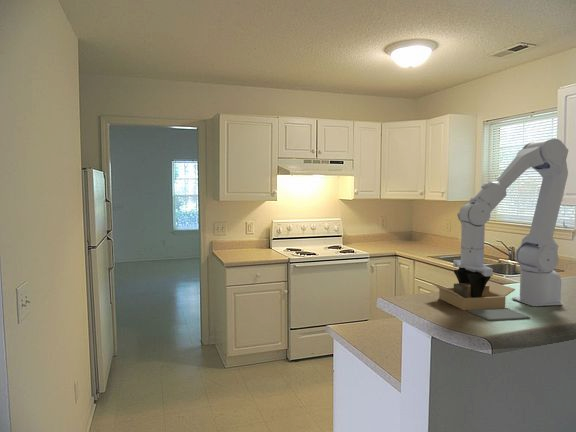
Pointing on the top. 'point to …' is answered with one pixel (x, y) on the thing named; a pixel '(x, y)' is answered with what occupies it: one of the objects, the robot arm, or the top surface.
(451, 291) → the carton
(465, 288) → the box
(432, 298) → the top surface
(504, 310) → the mat
